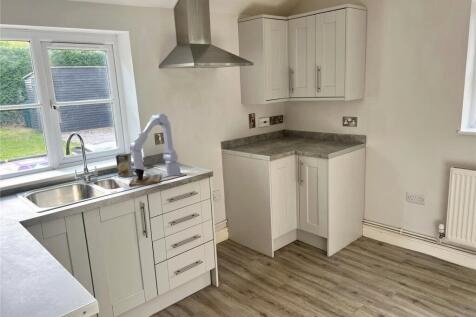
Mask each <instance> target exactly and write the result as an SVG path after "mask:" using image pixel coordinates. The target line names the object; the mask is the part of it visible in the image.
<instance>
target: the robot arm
mask: <svg viewBox="0 0 476 317" xmlns="http://www.w3.org/2000/svg"><path fill="white" fill-rule="evenodd" d="M158 125H159V126H160V127H162V128H161V129H162V136H163V142H164V150H163V154H162V155H163V156H162V160H163V161H164V163H165V166H166V168H165V169H166V177H173V176H179V175H180V176H181V172H182V171H181V167H180V166H181V165H180V161H178V158H179V157H178V154H177V151H176V150H175V149H174V144H173V137H172V129H171V122H170V121H169V119H168V116H167V115H166V114H165V113H153V114H152V115H151V117H150V118H149V121H148V122H147V125H146V126H145V128H144V129H143V131H140V132H138V133H137V136H136V138H135V139H133V141H132V142H131V143H130V146H129V149H130V150H131V153H132V159H133V160H132V161H133V164H132V166H131V169H133V173H135V174H136V177H138V178H139V180H140V181H141V180H143V175H144V173H145V171H148V166H145V165H144V160H143V154H142V149H144V148H143V147H144V144H145V142H146V141H147V139H148V138H149V133H151V131H152V129H153V128H154V127H155V126H158Z"/></svg>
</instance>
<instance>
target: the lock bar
mask: <svg viewBox="0 0 476 317" xmlns="http://www.w3.org/2000/svg"><path fill="white" fill-rule="evenodd" d="M148 175H149V174H148V173H145V174H143V180H144V179H147V178H148ZM135 177H136V178H134V182H138V181H140V180H139V178H138V176H135Z"/></svg>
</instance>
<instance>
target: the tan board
mask: <svg viewBox="0 0 476 317" xmlns="http://www.w3.org/2000/svg"><path fill="white" fill-rule="evenodd" d="M148 176H150V178H149V179H147V180H141V181H138V182H134V178H136V177H137V176H133V177H132V179H131V180H130V181H129V183H128V187H129V186H130V187H137V186H136V185H139V186H145V185H146V186H147V185H155V184H159V183H160V181H161V177H162V174H161V173H159V174H158V173H157V174H148Z"/></svg>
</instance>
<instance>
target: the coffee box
mask: <svg viewBox="0 0 476 317" xmlns="http://www.w3.org/2000/svg"><path fill="white" fill-rule="evenodd" d="M115 160H116V161H115V162H116V166H117V174H118V178H129V177H128V176H131V177H132V176H133V175H134V169H131V166H133V163H132V161H133V160H132V155H131V153H118V154H117V155H115Z"/></svg>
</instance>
